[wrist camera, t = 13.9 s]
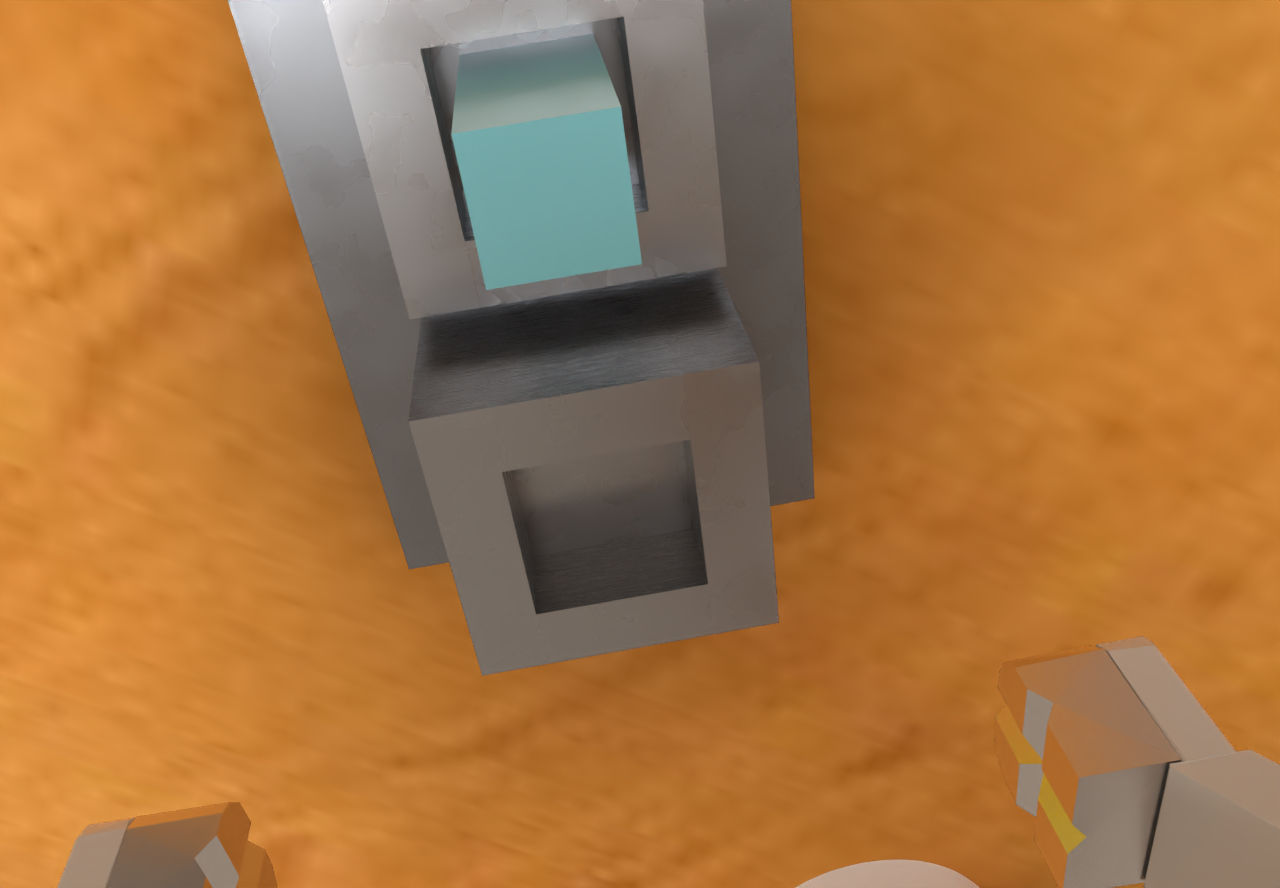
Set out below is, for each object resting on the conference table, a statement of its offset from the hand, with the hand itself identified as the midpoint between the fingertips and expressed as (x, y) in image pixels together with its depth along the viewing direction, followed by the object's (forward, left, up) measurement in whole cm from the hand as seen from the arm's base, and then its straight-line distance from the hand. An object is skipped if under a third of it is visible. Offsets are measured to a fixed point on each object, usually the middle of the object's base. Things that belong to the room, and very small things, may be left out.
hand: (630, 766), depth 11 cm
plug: (0, 0, -26) cm, 26 cm away
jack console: (-5, 0, -27) cm, 28 cm away
